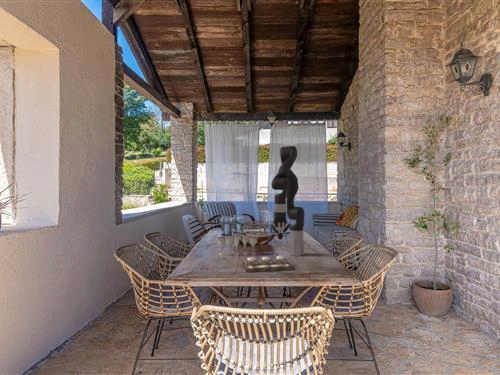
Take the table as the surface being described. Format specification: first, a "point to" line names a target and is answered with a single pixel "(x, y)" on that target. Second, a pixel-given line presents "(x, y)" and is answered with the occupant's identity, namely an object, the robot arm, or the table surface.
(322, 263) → the table surface
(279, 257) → the button
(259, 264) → the button board
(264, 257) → the middle button
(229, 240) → the goblet set
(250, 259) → the button
